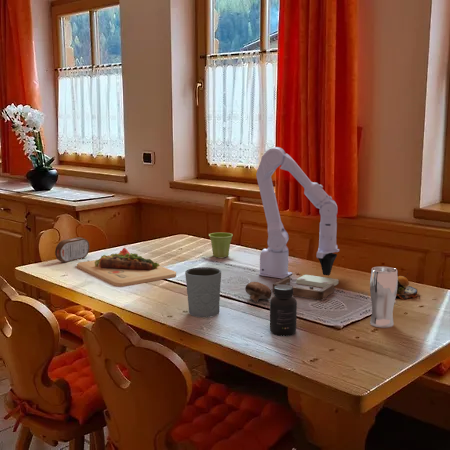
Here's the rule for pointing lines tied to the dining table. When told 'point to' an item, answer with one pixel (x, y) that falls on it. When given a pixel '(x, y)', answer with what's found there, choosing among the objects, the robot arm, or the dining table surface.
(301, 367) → the dining table surface
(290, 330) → the supplement bottle
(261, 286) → the mushroom
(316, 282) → the door
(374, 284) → the beer glass
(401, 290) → the salad plate
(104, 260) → the cutting board
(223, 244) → the plant pot
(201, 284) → the grey tapered cup
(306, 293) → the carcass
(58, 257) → the tin
